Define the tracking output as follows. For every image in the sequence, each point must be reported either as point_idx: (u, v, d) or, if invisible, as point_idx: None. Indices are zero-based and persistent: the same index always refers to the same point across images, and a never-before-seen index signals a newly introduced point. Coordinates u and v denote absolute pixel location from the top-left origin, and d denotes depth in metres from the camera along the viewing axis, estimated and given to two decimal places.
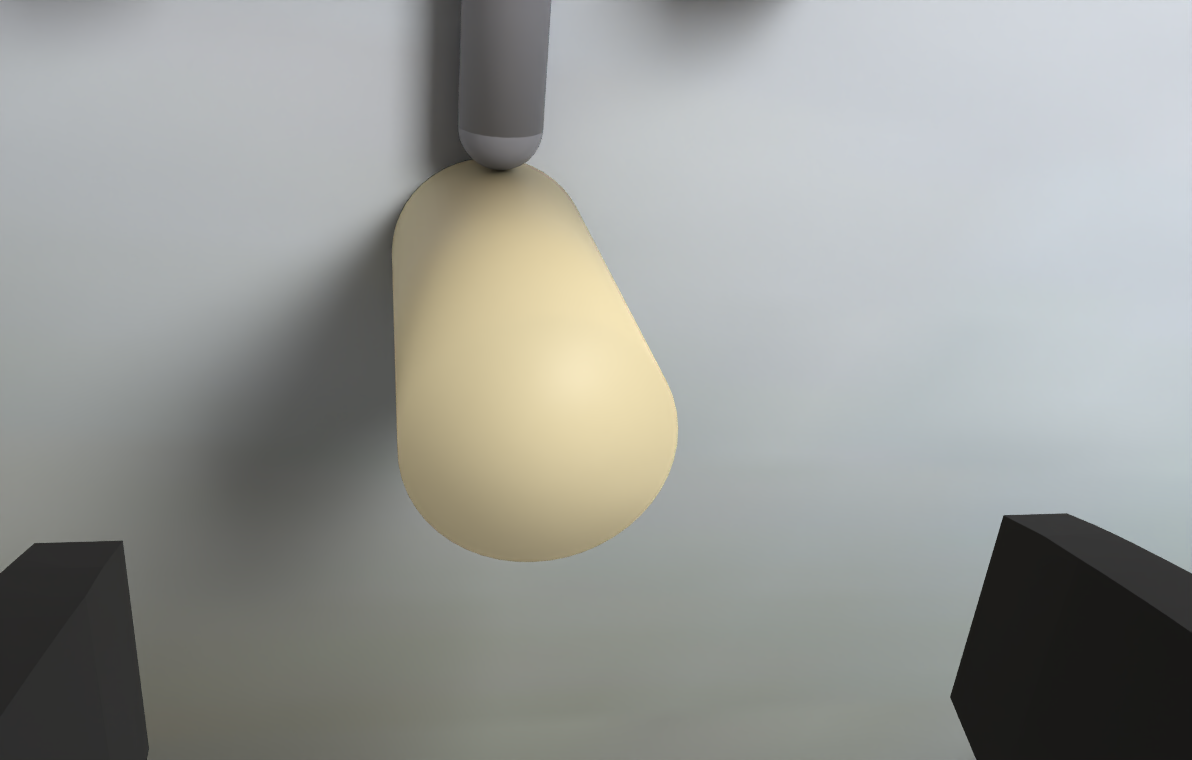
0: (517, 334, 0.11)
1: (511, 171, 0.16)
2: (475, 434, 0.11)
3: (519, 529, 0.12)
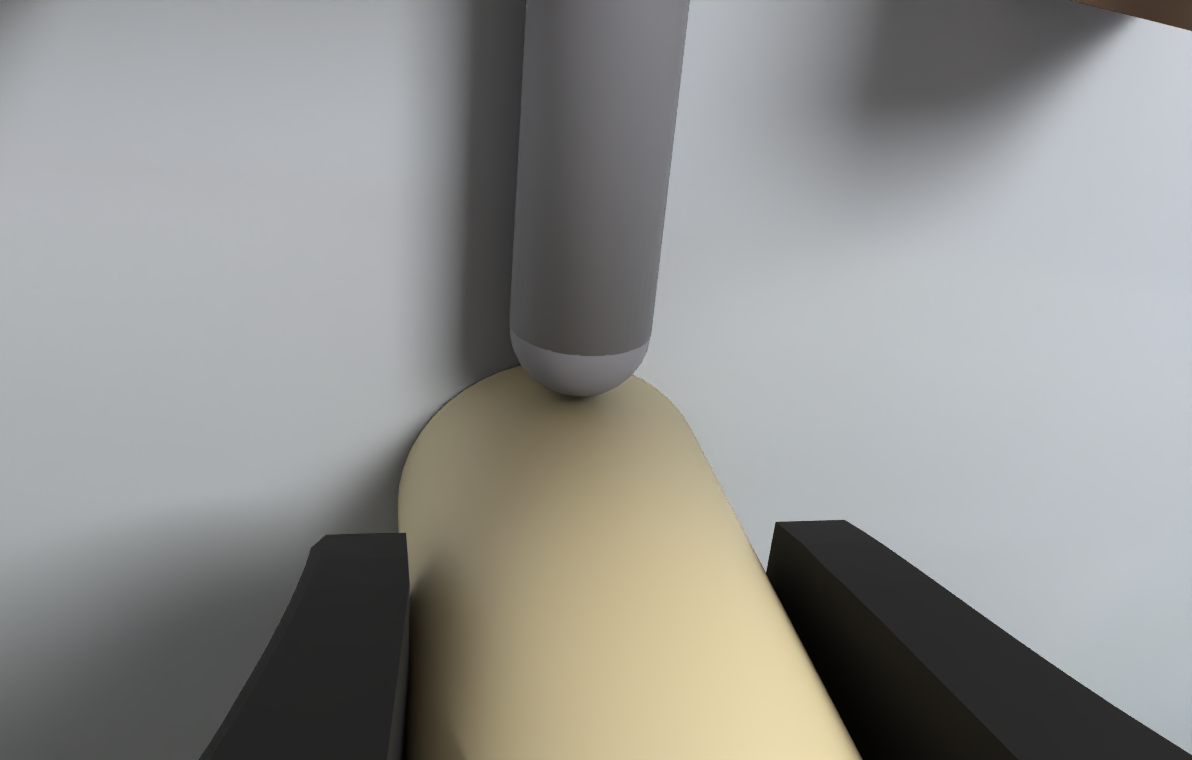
0: None
1: None
2: None
3: None
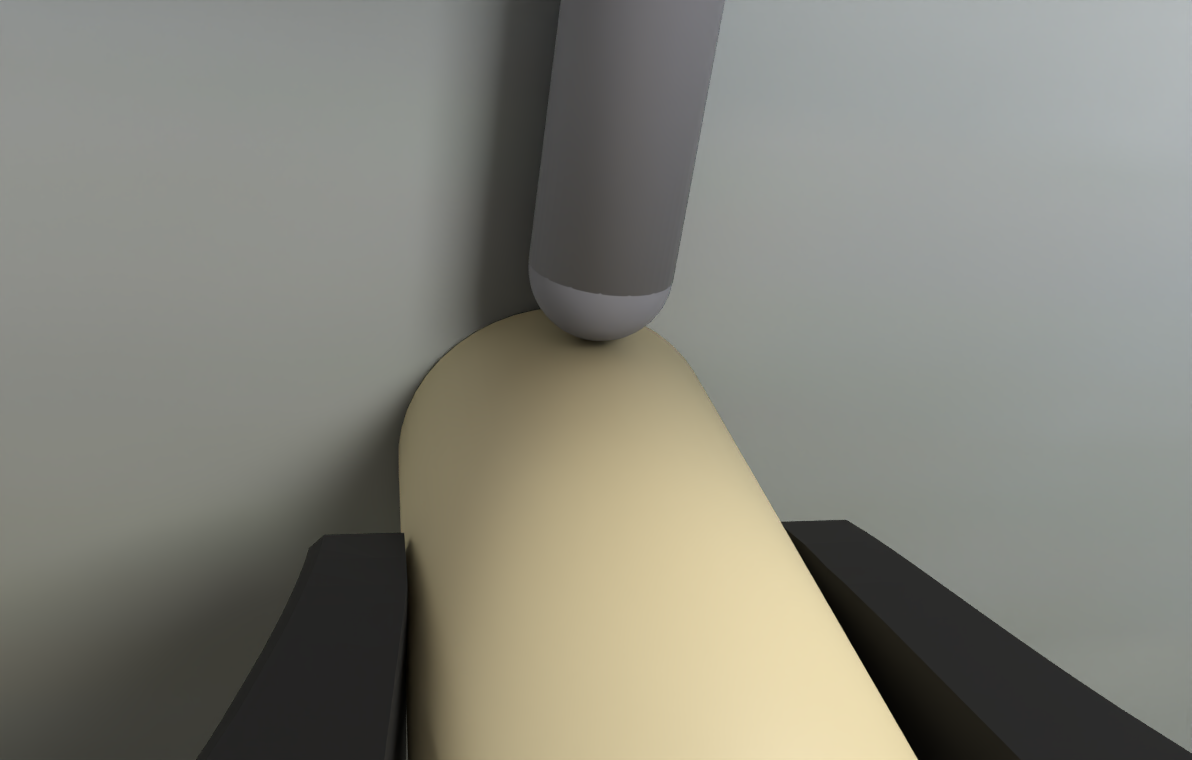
0: None
1: (612, 341, 0.09)
2: None
3: None
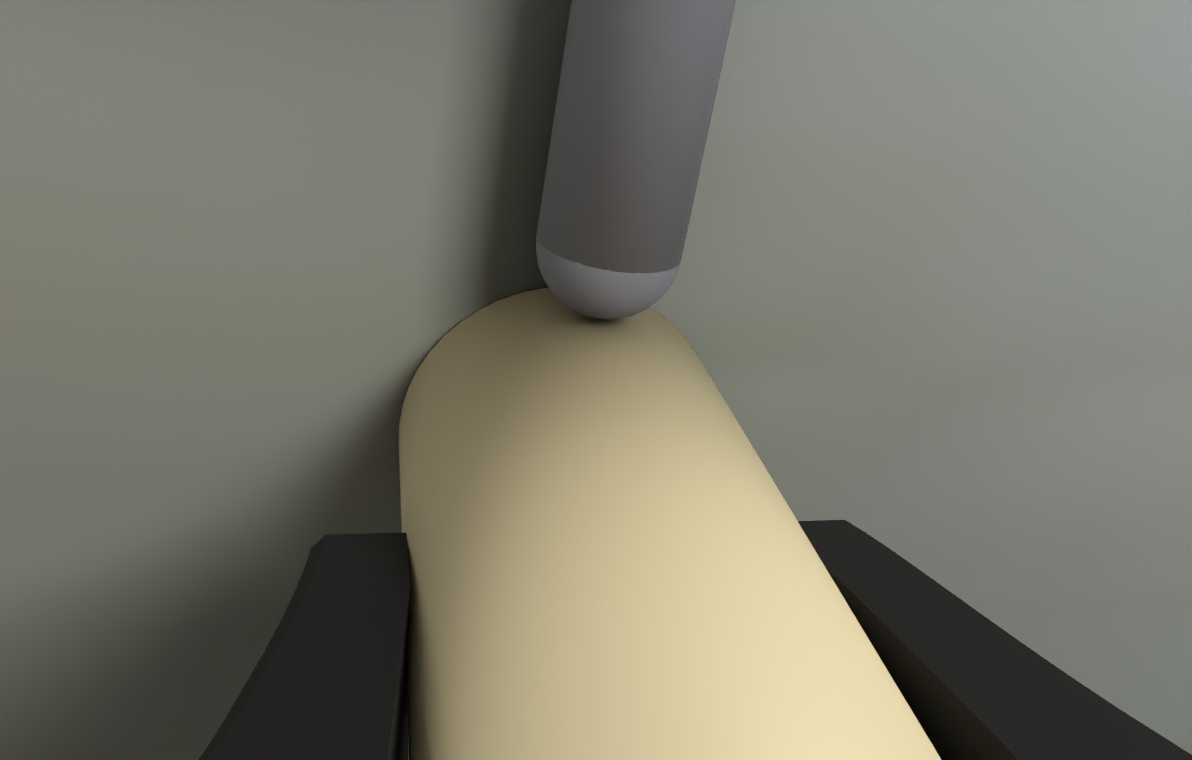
0: None
1: (618, 320, 0.09)
2: None
3: None
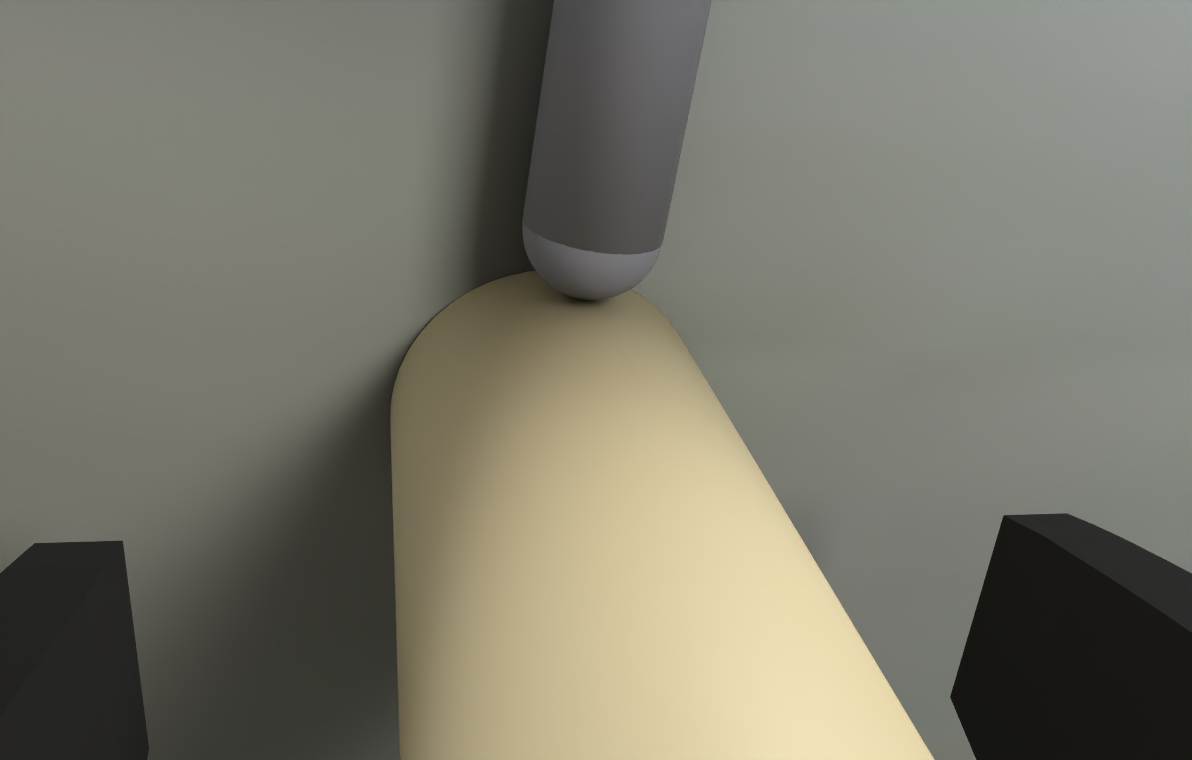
0: None
1: (603, 301, 0.10)
2: None
3: None
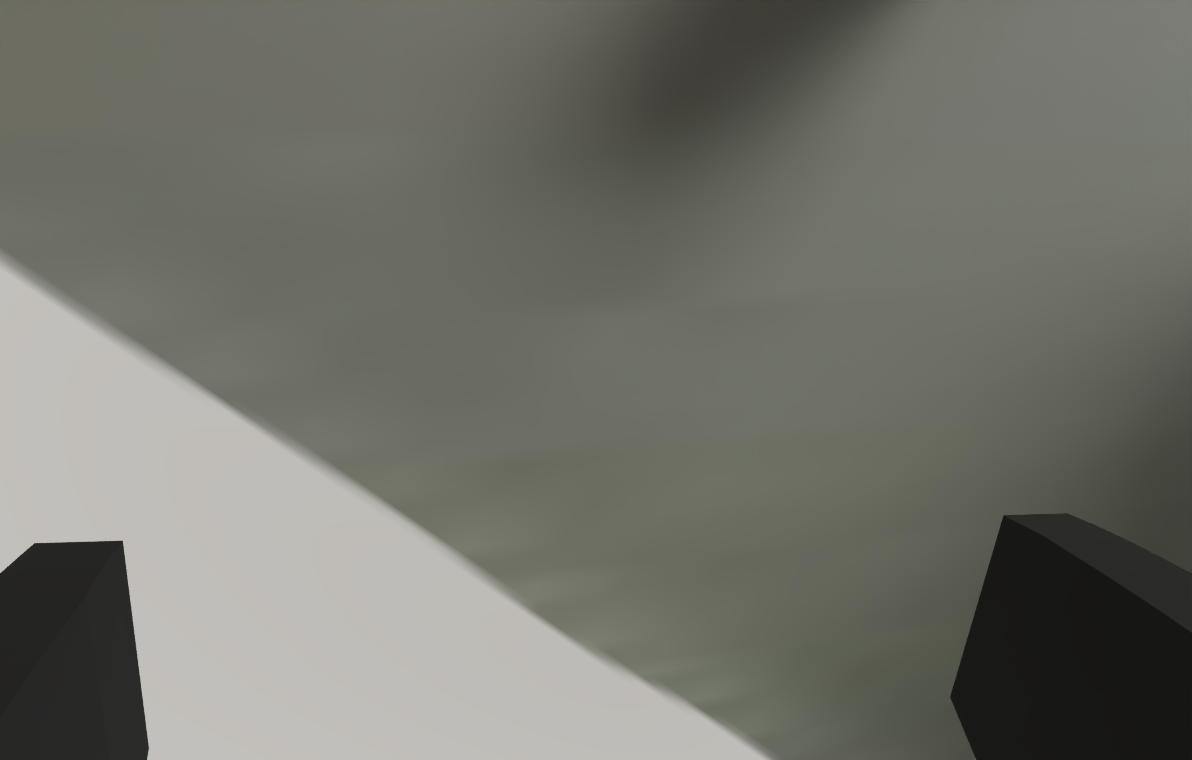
0: None
1: None
2: None
3: None
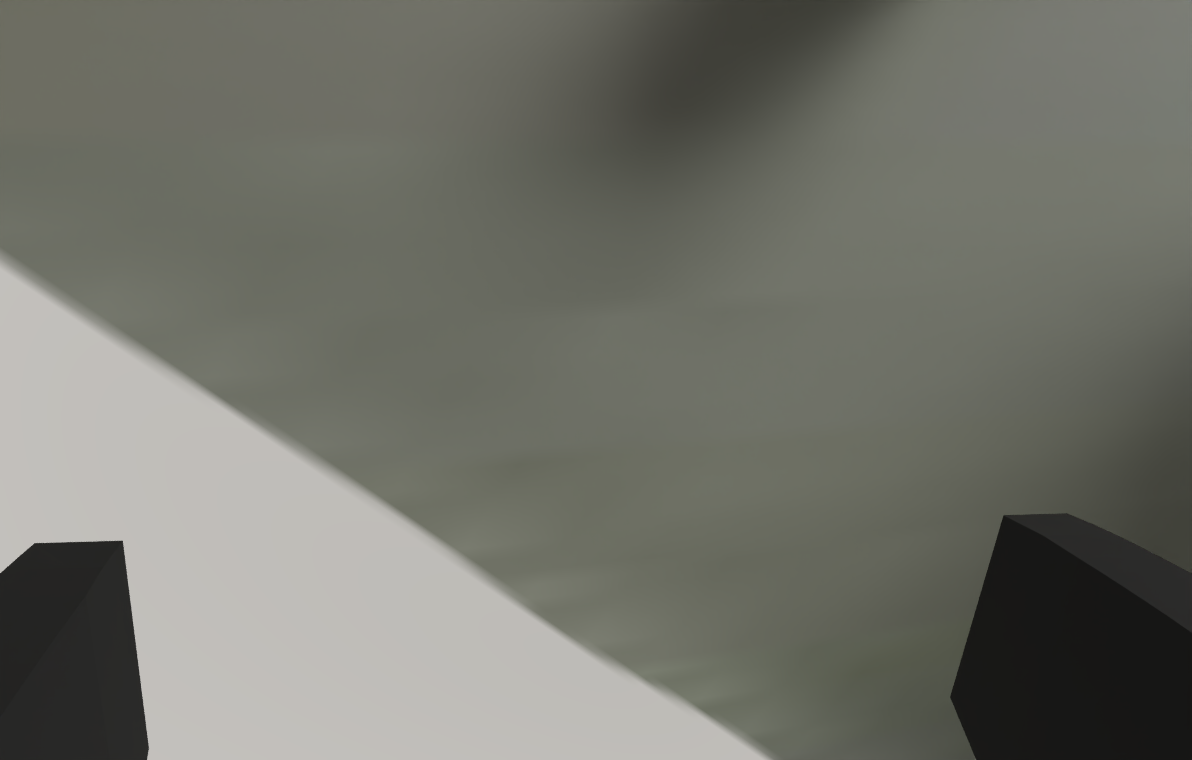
0: None
1: None
2: None
3: None
